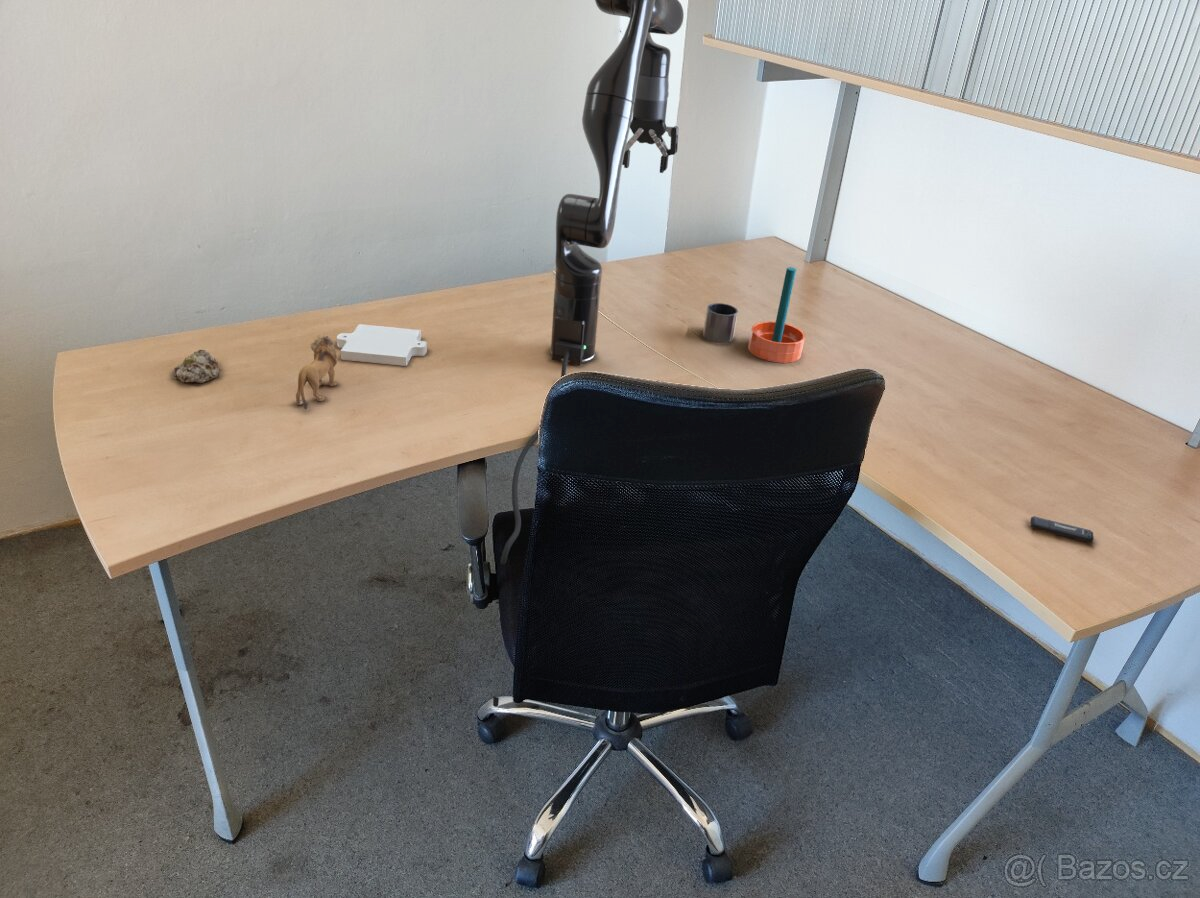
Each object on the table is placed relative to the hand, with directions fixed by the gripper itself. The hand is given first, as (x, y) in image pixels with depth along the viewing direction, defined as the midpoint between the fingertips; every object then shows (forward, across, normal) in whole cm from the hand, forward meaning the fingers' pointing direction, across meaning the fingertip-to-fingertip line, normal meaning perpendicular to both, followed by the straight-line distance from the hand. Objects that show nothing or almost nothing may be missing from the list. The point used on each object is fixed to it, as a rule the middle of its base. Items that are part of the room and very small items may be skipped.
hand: (644, 169), depth 208 cm
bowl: (+30, +38, -24) cm, 54 cm away
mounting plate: (+30, -39, -58) cm, 76 cm away
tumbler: (+30, +25, -21) cm, 44 cm away
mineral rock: (+30, -64, -82) cm, 108 cm away
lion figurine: (+30, -41, -79) cm, 94 cm away
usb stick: (+33, +90, -72) cm, 120 cm away
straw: (+30, +38, -24) cm, 54 cm away
